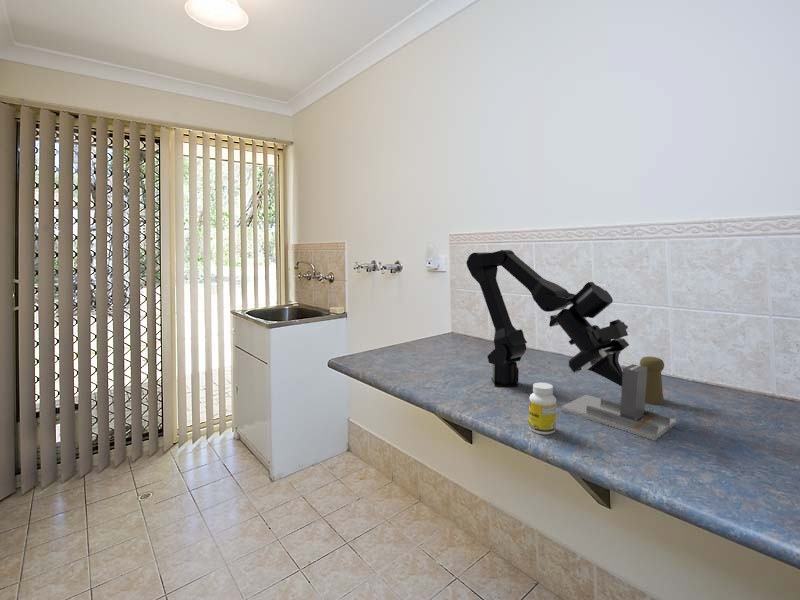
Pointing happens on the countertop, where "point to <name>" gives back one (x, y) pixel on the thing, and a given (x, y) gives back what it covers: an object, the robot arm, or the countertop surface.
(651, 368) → the cork
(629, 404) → the fader tab
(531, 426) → the supplement bottle
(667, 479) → the countertop surface
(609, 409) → the plate
